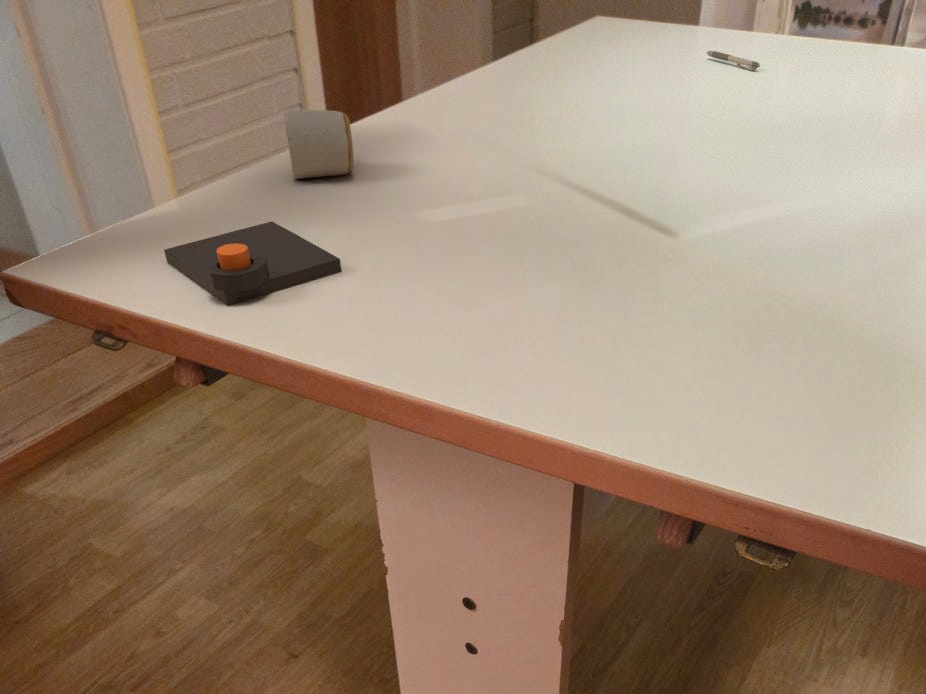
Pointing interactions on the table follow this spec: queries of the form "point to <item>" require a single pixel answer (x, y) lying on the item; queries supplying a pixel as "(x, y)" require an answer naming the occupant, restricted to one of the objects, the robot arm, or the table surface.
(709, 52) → the pen
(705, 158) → the table surface
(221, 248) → the button
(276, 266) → the dark grey flat block
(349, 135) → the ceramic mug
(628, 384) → the table surface
